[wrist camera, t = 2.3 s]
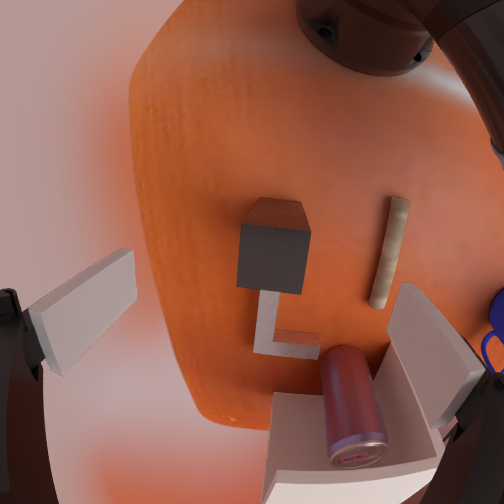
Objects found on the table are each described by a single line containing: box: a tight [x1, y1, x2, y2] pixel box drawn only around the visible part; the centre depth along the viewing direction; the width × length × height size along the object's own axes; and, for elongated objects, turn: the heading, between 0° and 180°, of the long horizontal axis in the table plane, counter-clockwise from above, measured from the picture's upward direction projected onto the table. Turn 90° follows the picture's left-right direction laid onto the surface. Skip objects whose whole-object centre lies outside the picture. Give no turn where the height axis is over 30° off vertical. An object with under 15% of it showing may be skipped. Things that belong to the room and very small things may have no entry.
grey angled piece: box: [237, 197, 321, 360], centre depth 24 cm, size 17×8×12 cm, turn 175°
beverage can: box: [320, 345, 389, 470], centre depth 25 cm, size 6×6×15 cm
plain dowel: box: [368, 197, 410, 309], centre depth 26 cm, size 12×2×2 cm
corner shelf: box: [260, 342, 445, 504], centre depth 24 cm, size 12×15×19 cm
